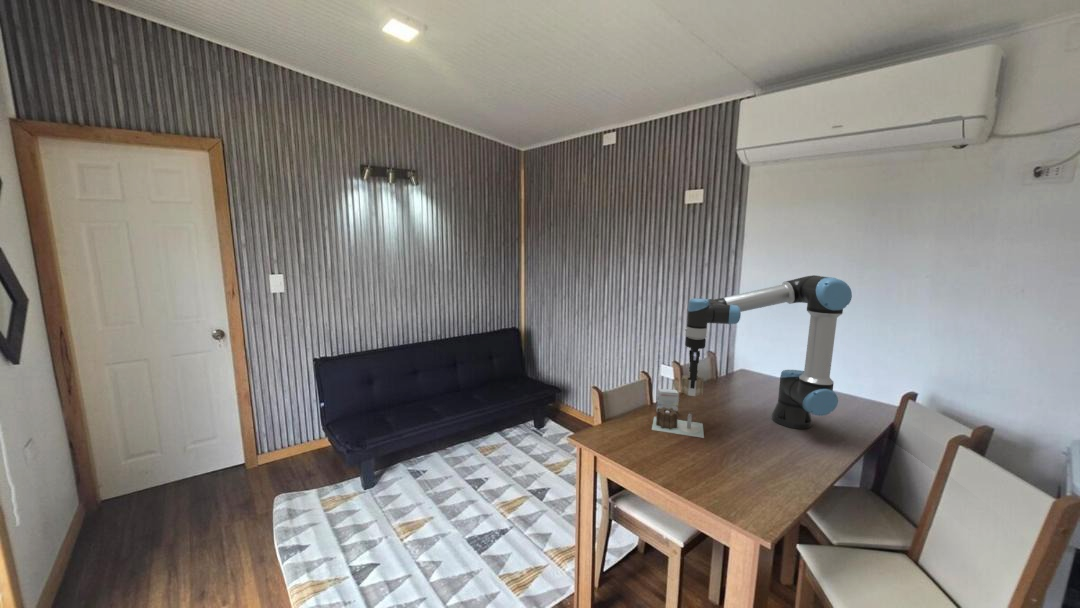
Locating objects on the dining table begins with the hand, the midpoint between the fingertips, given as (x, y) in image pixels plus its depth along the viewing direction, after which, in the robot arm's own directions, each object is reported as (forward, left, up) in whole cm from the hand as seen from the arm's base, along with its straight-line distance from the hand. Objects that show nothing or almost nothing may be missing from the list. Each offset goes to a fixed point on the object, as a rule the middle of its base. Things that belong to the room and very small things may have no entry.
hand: (691, 391), depth 171 cm
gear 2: (0, 0, 0) cm, 0 cm away
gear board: (+4, 0, -17) cm, 18 cm away
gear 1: (+9, 0, -16) cm, 18 cm away
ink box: (+9, -13, -17) cm, 23 cm away
